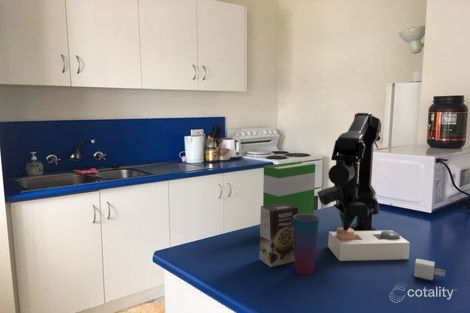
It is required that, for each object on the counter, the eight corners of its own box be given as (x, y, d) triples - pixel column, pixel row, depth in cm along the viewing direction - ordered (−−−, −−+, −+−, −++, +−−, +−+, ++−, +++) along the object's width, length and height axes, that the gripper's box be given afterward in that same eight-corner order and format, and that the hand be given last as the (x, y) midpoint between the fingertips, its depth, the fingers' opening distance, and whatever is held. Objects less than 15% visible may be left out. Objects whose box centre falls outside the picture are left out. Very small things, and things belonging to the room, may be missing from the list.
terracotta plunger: (333, 244, 115) (334, 227, 114) (349, 244, 115) (350, 227, 114) (339, 251, 110) (339, 233, 109) (356, 250, 110) (357, 232, 109)
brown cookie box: (270, 267, 103) (271, 211, 100) (258, 259, 108) (259, 205, 106) (297, 261, 107) (299, 207, 105) (284, 253, 113) (285, 201, 110)
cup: (318, 267, 103) (320, 214, 101) (315, 277, 97) (317, 222, 95) (294, 263, 105) (295, 212, 103) (289, 274, 99) (290, 219, 97)
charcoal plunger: (377, 247, 116) (378, 231, 115) (393, 247, 116) (394, 230, 116) (384, 254, 111) (385, 236, 110) (401, 254, 111) (403, 236, 110)
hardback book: (298, 224, 140) (299, 161, 136) (313, 229, 134) (315, 164, 131) (262, 234, 129) (263, 166, 126) (277, 240, 123) (279, 169, 120)
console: (328, 246, 118) (328, 231, 117) (391, 245, 119) (392, 230, 118) (339, 260, 107) (340, 244, 107) (408, 259, 109) (409, 242, 108)
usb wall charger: (415, 271, 101) (416, 257, 100) (444, 277, 97) (446, 263, 97) (414, 277, 97) (415, 263, 97) (444, 284, 94) (445, 269, 93)
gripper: (312, 173, 118) (310, 220, 121) (330, 186, 100) (328, 241, 102) (346, 173, 119) (344, 220, 121) (371, 185, 101) (368, 241, 103)
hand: (345, 229), depth 112 cm, fingers closed, pressing on terracotta plunger
